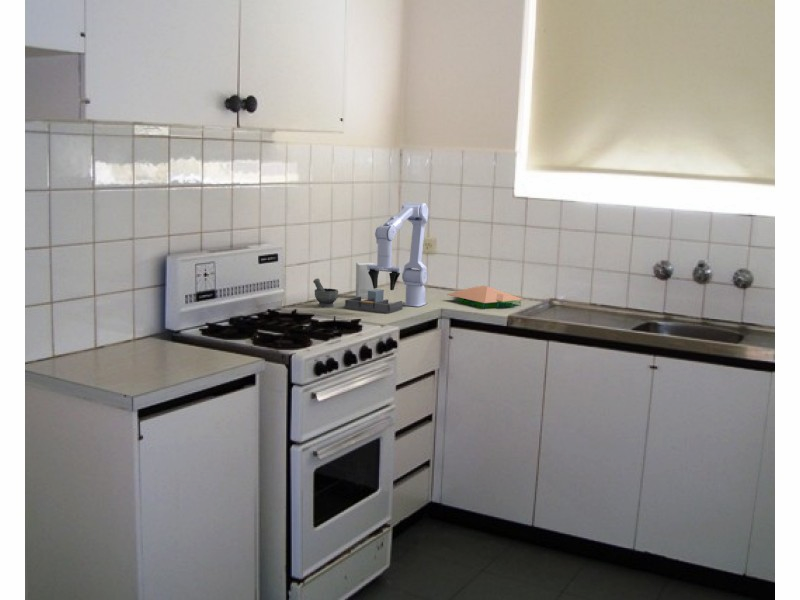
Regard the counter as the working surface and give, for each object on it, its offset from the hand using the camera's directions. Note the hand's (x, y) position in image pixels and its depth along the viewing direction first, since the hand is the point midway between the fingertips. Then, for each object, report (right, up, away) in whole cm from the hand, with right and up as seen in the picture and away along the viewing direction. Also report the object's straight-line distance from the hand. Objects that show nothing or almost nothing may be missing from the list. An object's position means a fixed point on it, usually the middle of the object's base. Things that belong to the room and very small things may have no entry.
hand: (383, 289), depth 341 cm
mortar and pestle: (-25, -7, +13) cm, 29 cm away
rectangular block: (-4, -6, +24) cm, 25 cm away
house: (+44, -6, +36) cm, 57 cm away
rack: (-4, -8, +11) cm, 14 cm away
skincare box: (-9, -3, +40) cm, 41 cm away
